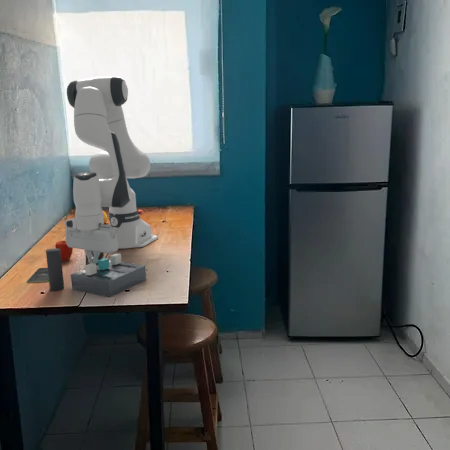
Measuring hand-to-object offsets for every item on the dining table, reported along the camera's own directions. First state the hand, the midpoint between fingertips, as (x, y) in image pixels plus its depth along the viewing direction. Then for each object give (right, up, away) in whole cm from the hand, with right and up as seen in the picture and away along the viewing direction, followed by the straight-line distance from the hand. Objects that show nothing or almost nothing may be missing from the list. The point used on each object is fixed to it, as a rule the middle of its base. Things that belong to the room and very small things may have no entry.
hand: (93, 262), depth 178 cm
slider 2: (+7, 0, +3) cm, 8 cm away
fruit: (-18, +13, +85) cm, 88 cm away
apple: (-18, -1, +27) cm, 33 cm away
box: (-2, -4, +11) cm, 12 cm away
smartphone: (-20, -6, +10) cm, 23 cm away
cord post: (-11, -8, -4) cm, 14 cm away
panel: (+6, -7, -2) cm, 9 cm away
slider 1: (+1, -3, -7) cm, 8 cm away
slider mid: (+4, -2, -2) cm, 5 cm away
